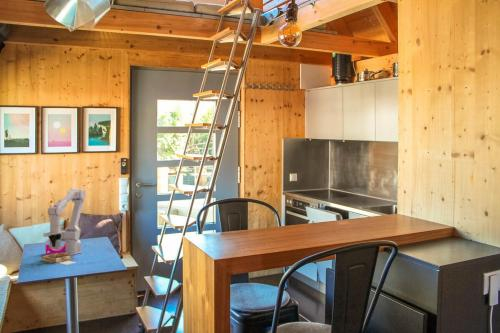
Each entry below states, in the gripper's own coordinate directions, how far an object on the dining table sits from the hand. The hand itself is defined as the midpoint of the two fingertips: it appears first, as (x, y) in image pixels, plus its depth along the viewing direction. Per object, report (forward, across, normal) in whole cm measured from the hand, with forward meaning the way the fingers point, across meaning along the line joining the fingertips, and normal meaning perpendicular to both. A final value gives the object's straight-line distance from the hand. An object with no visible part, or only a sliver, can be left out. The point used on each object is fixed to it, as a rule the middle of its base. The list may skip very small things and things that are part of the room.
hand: (55, 246), depth 284 cm
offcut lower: (+9, -5, 0) cm, 10 cm away
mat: (+9, -1, +12) cm, 16 cm away
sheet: (+2, 0, 0) cm, 2 cm away
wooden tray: (+9, -1, 0) cm, 9 cm away
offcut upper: (+7, -5, +1) cm, 9 cm away
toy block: (+10, -13, -17) cm, 24 cm away
